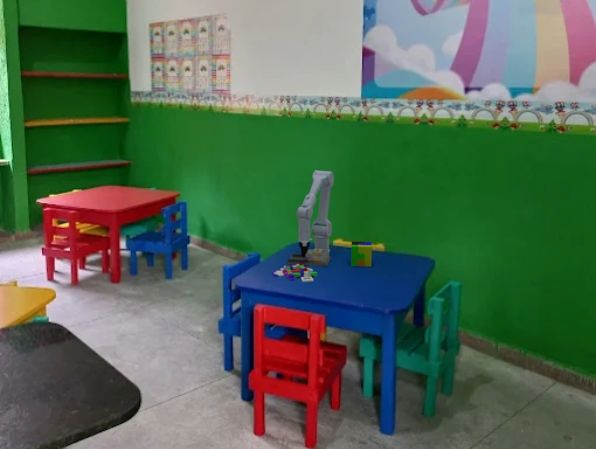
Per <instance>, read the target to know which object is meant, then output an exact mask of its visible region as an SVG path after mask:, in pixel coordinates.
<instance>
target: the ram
mask: <svg viewBox="0 0 596 449" xmlns="http://www.w3.org/2000/svg"><path fill="white" fill-rule="evenodd" d="M312 251H313V249H308V251H307V253H306V260H308V261H312Z"/></svg>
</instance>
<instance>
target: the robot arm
mask: <svg viewBox="0 0 596 449" xmlns="http://www.w3.org/2000/svg"><path fill="white" fill-rule="evenodd" d="M311 179H312V183H311V187H310V190H309V193H308V194H306V195H305V197H304V199H303V202H302V204H301V206H299V207H298V208H297V210H296V217H297V221H298V246H299V247H300V248H299V249H300V252H301V253H300V254H302V257H306V253H307V251H308V250H309V247H310V246H311V241H313V238H314V249H323V250H326V251H329V253H330V252H331V249H330V246H329V245H330V239H329V237H330V236H332V233H333V226H332V225H333V224H332V222H331V221H330V220H329V219H328V217H329V216H328V215H329V205H330V198H331V197H330V196H331V189H332V188H333V187H334V181H335V176H334V173H333V171H327V170H326V171H325V170H317V169H315V170H314V172H313V173H312V178H311ZM319 191H320V195H319V204H318V205H319V206H318V212H317V218H316V219H315V220H313V222H312V226H311V219H312V217H313V214H314V213H313V211H314V207H315V205H316V202H317V198H316V196H317V195H318V194H319ZM311 234H312V236H313V238H311Z"/></svg>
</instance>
